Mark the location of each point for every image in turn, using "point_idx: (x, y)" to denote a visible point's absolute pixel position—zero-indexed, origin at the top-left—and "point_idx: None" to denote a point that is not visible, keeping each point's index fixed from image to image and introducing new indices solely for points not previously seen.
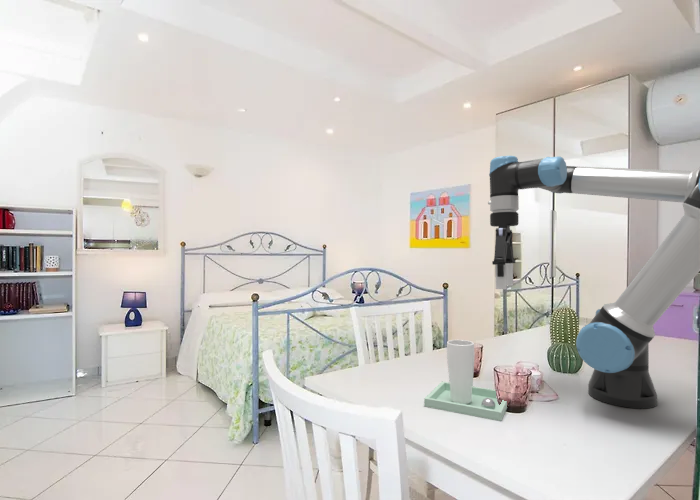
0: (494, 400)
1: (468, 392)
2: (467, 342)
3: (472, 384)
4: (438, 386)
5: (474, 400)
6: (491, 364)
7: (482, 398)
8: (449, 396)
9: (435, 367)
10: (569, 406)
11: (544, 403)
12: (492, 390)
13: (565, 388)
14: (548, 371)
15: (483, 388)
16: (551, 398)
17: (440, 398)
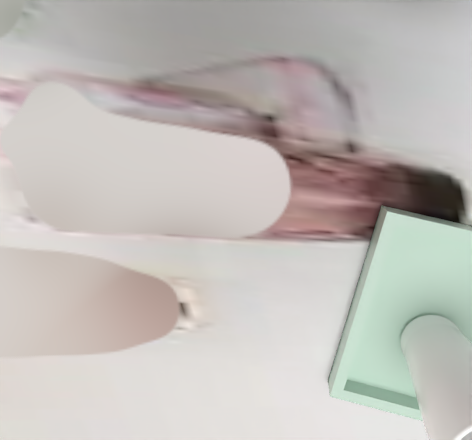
0: (402, 252)
1: (467, 338)
2: (458, 432)
3: (455, 336)
4: (382, 406)
5: (413, 305)
6: (16, 232)
7: (391, 283)
8: (395, 366)
9: (115, 398)
10: (380, 37)
11: (371, 110)
12: (382, 263)
13: (205, 19)
14: (27, 47)
15: (370, 287)
16: (319, 81)
17: None
